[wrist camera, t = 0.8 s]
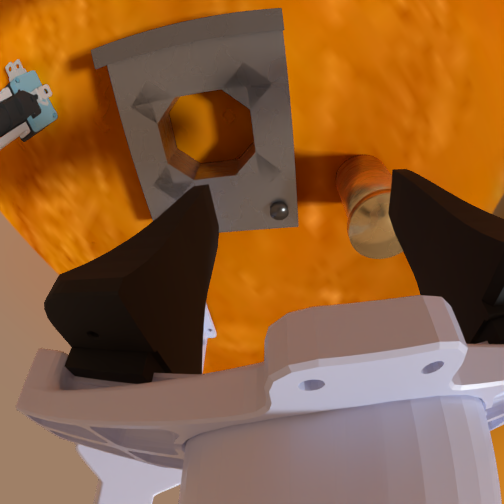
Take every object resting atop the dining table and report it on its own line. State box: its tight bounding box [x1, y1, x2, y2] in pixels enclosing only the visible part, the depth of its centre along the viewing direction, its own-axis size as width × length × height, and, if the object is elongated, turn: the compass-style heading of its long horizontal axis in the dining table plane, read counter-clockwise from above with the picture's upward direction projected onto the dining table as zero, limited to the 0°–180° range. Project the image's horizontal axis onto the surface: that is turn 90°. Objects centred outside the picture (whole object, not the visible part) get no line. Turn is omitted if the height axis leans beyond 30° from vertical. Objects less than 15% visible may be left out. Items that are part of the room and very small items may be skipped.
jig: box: [91, 8, 298, 232], centre depth 18 cm, size 14×10×4 cm
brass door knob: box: [336, 155, 403, 259], centre depth 19 cm, size 5×5×6 cm
